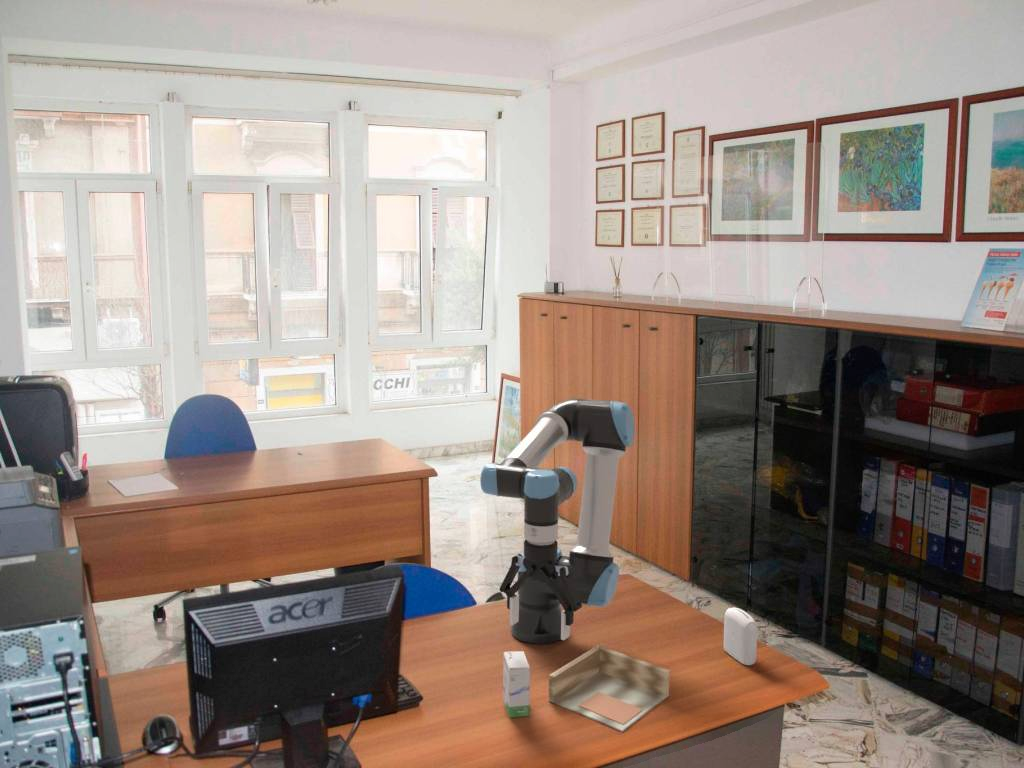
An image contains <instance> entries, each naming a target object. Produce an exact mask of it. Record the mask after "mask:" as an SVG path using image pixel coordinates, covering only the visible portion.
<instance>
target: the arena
mask: <svg viewBox="0 0 1024 768" xmlns="http://www.w3.org/2000/svg"><path fill="white" fill-rule="evenodd" d="M597 692H600V693H603V694H605V695H608V696H610V697H613V698H616V699H618V700H621V701H623V702H626V703H628V704H631V705H633V706H636V707H638V708H641V709H643V710H642V711H641V712H639V713H638V714H637V715H636V716H634V717H633V718H632V719H630V720H629V721H628V722H626V723H625V724H624V725H623V724H620V723H618V722H615V721H613V720H611V719H608V718H606V717H603V716H601V715H599V714H596V713H594V712H591V711H589V710H587V709H584V708H582V707H579V705H580V704H581V703H583V702H584V701H586V700H587V699H589V698H590V697H591V696H593V695H594V694H596V693H597ZM669 694H670V669H667V668H664V667H661V666H659V665H655V664H653V663H650V662H648V661H644V660H643V659H639V658H637V657H633V656H630V655H629V654H628V655H627V654H625V653H621V652H620V651H617V650H614V649H611V648H608V647H605V646H602V645H600V644H597V645H596V646H593V647H592V648H591V649H589V650H587V651H586V652H584V653H582V654H581V655H579V656H577V657H576V658H575V659H572V660H571V661H570V662H568V663H566V664H565V665H563V666H562V667H559V668H558V669H556V670H555V671H553V672H552V673H550V674H548V702H551V703H552V704H555V705H558V706H559V707H562V708H565V709H566V710H568V711H569V710H570V711H572V712H574V713H577V714H579V715H580V716H583V717H586V718H588V719H590V720H593V721H595V722H598V723H599V724H602V725H605V726H607V727H609V728H612V729H614V730H617V731H620V732H622V733H623V732H624V731H626V730H627V729H628V728H629V727H631V726H632V725H633V724H635V723H636V722H637V721H639V720H640V719H641V718H642V717H643V716H645V715H647V713H649V712H651V710H652V709H654V708H655V707H656V706H658V705H659V704H660V703H661V702H663V701H665V699H666V698H668V697H669Z"/></svg>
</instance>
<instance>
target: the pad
mask: <svg viewBox="0 0 1024 768" xmlns="http://www.w3.org/2000/svg"><path fill="white" fill-rule="evenodd" d="M579 707H582V708H584V709H587V710H589V711H591V712H594V713H596V714H599V715H601V716H603V717H606V718H608V719H611V720H613V721H615V722H618V723H620V724H623V725H624V724H625V723H626V722H628V721H629V720H630V719H632V718H633V717H634V716H636V715H637V714H638V713H639V712H641V711H642V710H643V709H641V708H638V707H636V706H633V705H631V704H628V703H626V702H623V701H621V700H618V699H616V698H613V697H610V696H608V695H605V694H603V693H600V692H597V693H596V694H594V695H593V696H591V697H590V698H589V699H587V700H586V701H584V702H583V703H581V704H580V705H579Z"/></svg>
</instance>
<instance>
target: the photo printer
mask: <svg viewBox="0 0 1024 768" xmlns="http://www.w3.org/2000/svg"><path fill="white" fill-rule="evenodd" d="M723 620H724V622H723V623H724V625H723V650H724V651H725V652H726V653H727V654H729V655H730V656H731V657H733V658H734V659H735V660H736V661H738V662H739V663H740V664H742V665H745V666H752V665H754V664H755V663H756V662H757V661H756V660H757V645H758V643H757V642H758V624H757V622H756V621H755V619H754V618H753V617H752V616H751V615H750V614H749V613H747V612H746V611H745V610H743V609H741V608H739V607H729V608H727V609H726V611H725V614H724V619H723Z"/></svg>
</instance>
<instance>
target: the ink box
mask: <svg viewBox="0 0 1024 768" xmlns="http://www.w3.org/2000/svg"><path fill="white" fill-rule="evenodd" d="M502 665H503V668H502V669H503V671H502V673H503V677H502V678H503V680H502V681H503V682H502V683H503V684H502V685H503V687H502V692H503V693H502V699H503V702H504V703H503V704H504V706H505V709H506V711H507V712H506V713H507V715H508V717H509V718H510V719H511V718H521V717H529V716H530V711H531V709H530V708H531V707H530V706H531V705H530V703H531V702H530V701H531V700H530V699H531V698H530V696H531V695H530V693H531V692H530V691H531V690H530V689H531V685H530V684H531V682H530V681H531V667H530V665H529V661H528V660H527V657H526V654H525V651H524V650H522V651H518V650H517V651H504V652H503V664H502Z"/></svg>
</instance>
